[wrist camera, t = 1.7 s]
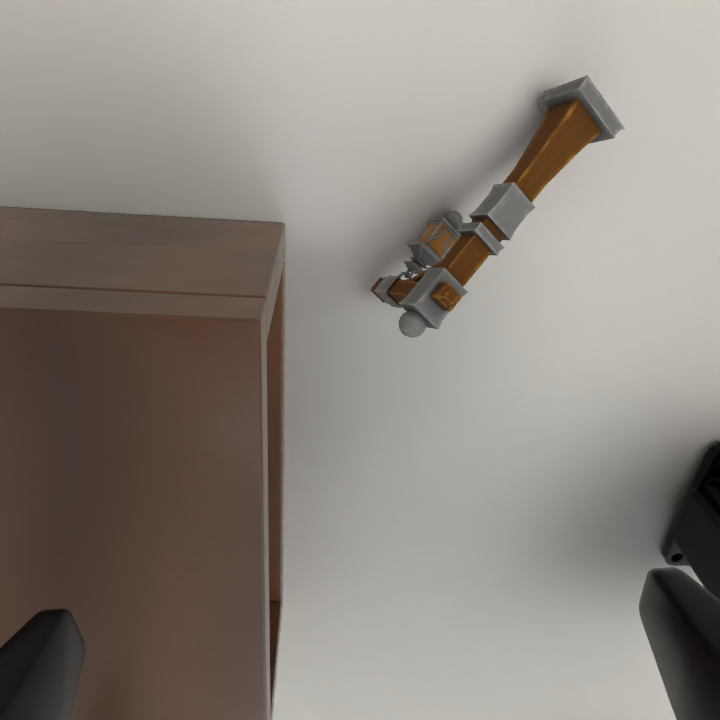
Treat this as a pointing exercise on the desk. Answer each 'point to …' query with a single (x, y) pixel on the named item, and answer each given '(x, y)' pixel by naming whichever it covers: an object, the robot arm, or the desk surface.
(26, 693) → the robot arm
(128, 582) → the shelf
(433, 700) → the desk surface
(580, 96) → the grey and wood assembly
